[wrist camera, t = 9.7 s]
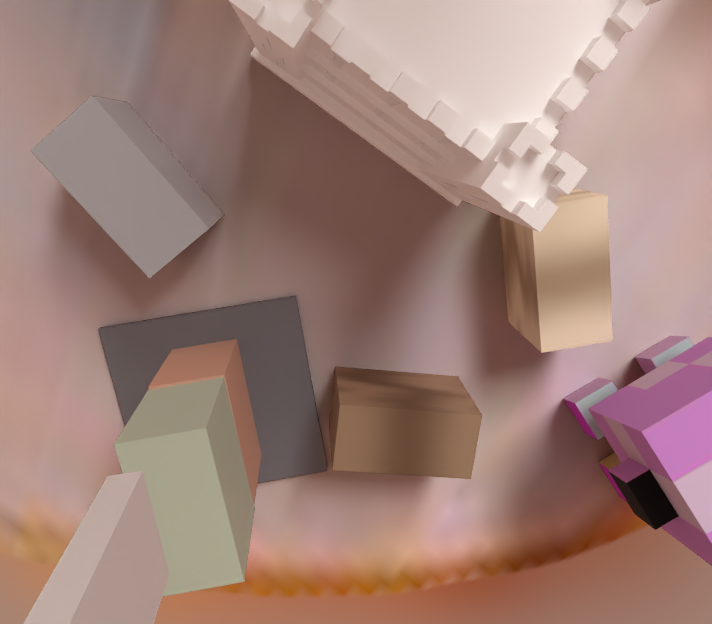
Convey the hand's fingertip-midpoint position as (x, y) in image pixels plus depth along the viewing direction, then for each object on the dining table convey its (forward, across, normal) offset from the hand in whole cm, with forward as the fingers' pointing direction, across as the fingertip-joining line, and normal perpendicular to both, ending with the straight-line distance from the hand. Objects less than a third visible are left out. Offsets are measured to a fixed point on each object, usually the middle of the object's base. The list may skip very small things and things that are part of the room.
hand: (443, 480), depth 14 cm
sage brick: (+19, -10, -8) cm, 23 cm away
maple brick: (+25, +11, -2) cm, 28 cm away
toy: (+25, +17, -12) cm, 33 cm away
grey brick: (+25, -12, +6) cm, 28 cm away
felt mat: (+25, -10, -8) cm, 28 cm away
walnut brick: (+25, +1, -10) cm, 27 cm away
